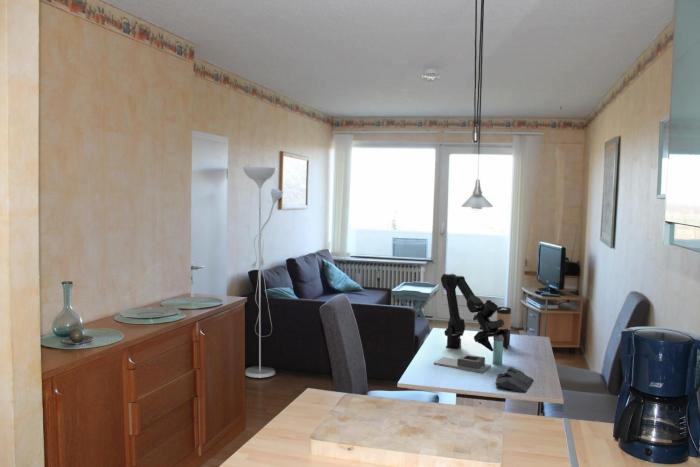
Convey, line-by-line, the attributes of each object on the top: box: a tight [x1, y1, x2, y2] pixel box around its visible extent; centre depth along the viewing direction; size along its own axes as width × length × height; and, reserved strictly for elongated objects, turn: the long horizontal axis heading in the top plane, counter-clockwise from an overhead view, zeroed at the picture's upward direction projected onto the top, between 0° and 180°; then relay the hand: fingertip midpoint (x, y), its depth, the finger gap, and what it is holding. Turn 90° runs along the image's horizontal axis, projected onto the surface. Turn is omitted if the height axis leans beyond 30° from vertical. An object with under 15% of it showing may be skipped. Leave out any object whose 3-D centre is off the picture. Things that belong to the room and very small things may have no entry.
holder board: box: [433, 353, 492, 374], centre depth 276 cm, size 24×12×4 cm, turn 59°
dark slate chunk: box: [495, 366, 534, 394], centre depth 250 cm, size 15×22×5 cm
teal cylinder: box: [492, 336, 504, 366], centre depth 280 cm, size 5×5×13 cm
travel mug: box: [496, 306, 512, 347], centre depth 318 cm, size 8×8×20 cm
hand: (499, 350), depth 279 cm, fingers open, 9 cm apart
